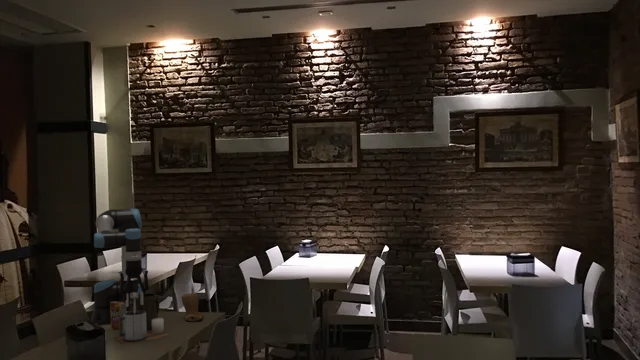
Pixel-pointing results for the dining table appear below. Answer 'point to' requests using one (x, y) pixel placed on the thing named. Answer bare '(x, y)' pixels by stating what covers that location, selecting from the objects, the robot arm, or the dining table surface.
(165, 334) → the serving board
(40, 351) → the dining table surface
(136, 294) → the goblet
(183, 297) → the brown boot
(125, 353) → the dining table surface
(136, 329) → the grey octagonal container
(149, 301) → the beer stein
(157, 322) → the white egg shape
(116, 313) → the candy box
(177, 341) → the dining table surface
